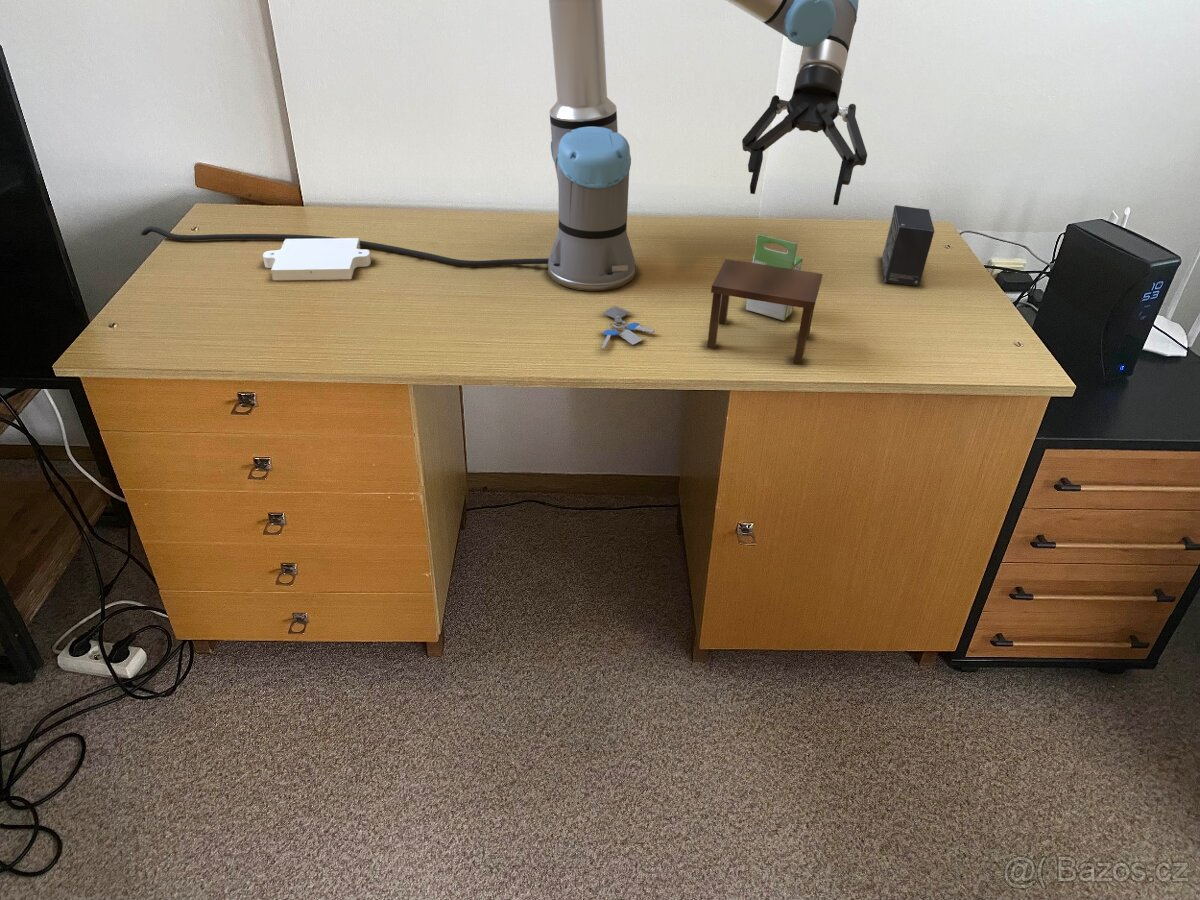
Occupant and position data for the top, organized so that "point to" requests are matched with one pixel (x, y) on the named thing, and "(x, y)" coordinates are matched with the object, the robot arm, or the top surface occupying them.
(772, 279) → the side table
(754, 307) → the ink box
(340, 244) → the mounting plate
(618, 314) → the key chain
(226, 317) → the top surface
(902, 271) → the small box
